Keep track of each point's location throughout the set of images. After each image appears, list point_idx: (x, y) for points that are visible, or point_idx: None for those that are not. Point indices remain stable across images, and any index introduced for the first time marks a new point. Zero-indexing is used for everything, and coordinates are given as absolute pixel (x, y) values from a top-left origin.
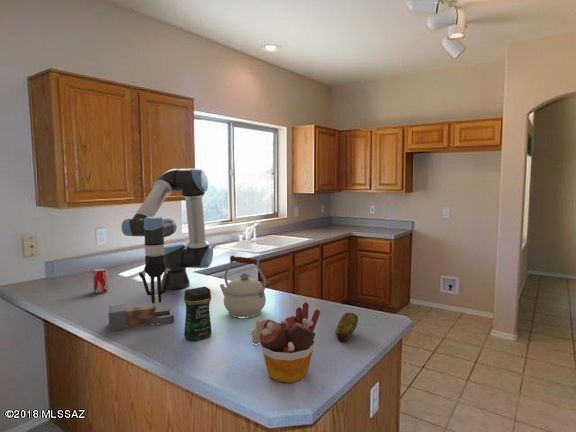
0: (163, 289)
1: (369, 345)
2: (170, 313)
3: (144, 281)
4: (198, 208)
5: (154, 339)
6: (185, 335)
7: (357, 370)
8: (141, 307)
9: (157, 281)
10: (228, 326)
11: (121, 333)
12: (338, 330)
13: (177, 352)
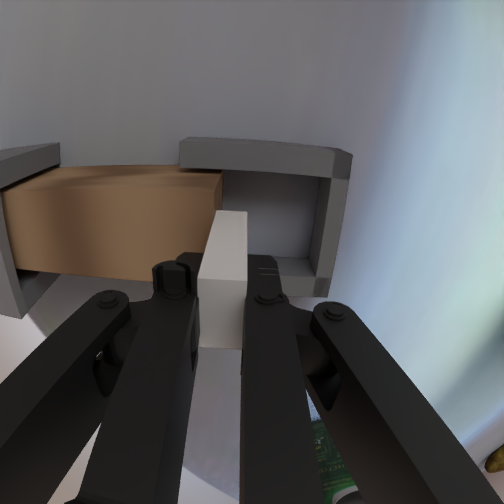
0: (314, 401)
1: None
2: (324, 251)
3: (26, 493)
4: None
5: (195, 407)
6: None
7: None
8: (105, 220)
9: (241, 496)
10: (447, 391)
11: (63, 303)
12: (493, 468)
13: None
